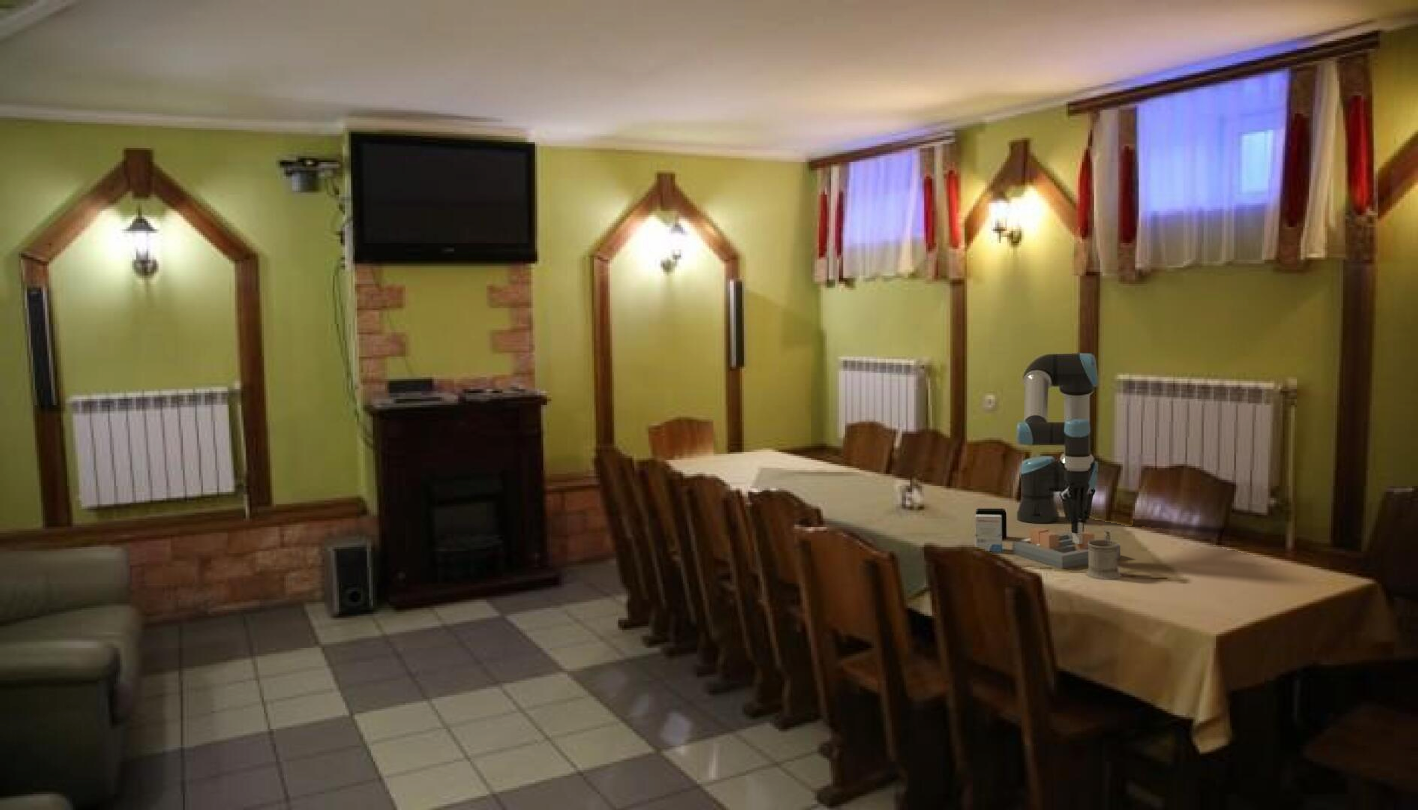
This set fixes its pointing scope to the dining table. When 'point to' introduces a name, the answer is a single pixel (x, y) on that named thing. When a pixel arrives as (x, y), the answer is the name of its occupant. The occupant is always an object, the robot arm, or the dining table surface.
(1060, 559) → the grey divided tray
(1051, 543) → the tab
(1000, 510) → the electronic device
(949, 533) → the dining table surface
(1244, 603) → the dining table surface
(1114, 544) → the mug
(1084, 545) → the orange block
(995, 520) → the ink box
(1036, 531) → the tab
